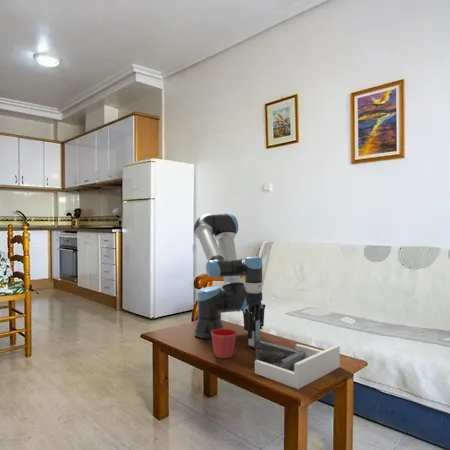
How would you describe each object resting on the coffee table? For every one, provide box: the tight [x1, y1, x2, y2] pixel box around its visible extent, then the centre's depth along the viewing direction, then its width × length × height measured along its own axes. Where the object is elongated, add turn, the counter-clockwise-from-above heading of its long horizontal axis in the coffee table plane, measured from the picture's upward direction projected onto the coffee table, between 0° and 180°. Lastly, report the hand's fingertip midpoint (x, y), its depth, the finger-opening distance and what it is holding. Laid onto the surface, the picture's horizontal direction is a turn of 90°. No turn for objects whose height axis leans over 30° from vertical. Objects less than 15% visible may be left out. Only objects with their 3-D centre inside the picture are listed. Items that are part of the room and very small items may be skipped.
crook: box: [248, 319, 306, 370], centre depth 151 cm, size 27×19×12 cm
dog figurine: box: [254, 346, 285, 365], centre depth 143 cm, size 12×6×7 cm, turn 75°
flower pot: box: [211, 328, 237, 359], centre depth 156 cm, size 11×11×10 cm
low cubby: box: [254, 343, 341, 390], centre depth 139 cm, size 19×27×8 cm
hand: (254, 344), depth 165 cm, fingers closed on crook, 3 cm apart
